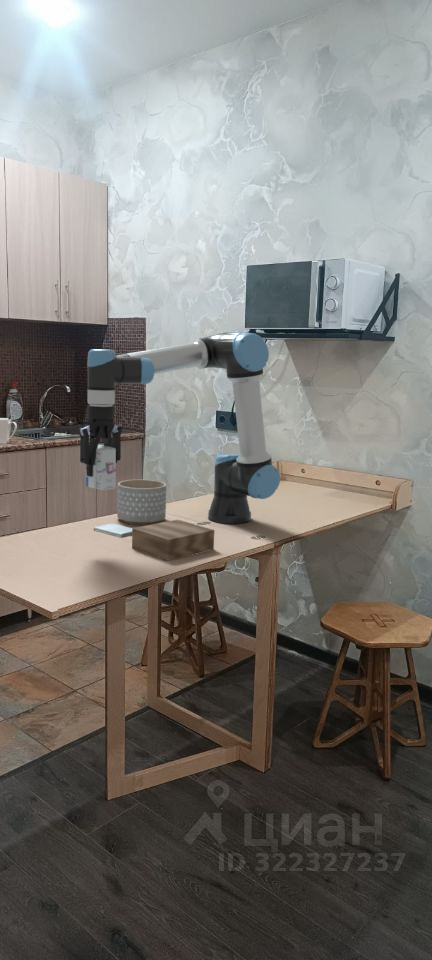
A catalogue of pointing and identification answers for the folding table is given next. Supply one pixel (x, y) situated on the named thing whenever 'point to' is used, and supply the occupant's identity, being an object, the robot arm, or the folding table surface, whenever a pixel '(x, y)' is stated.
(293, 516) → the folding table surface
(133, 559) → the folding table surface
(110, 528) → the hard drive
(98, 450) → the ink box
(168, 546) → the walnut stand
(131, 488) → the planter
